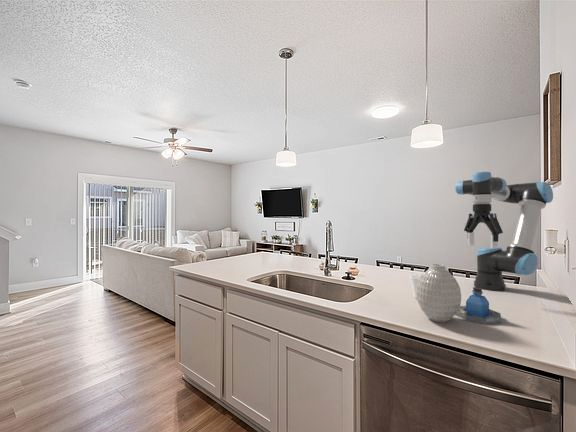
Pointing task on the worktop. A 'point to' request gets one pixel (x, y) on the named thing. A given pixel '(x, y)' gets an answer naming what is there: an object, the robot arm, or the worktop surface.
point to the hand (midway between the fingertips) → (482, 246)
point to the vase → (438, 294)
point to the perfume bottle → (477, 303)
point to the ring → (491, 319)
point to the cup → (414, 283)
